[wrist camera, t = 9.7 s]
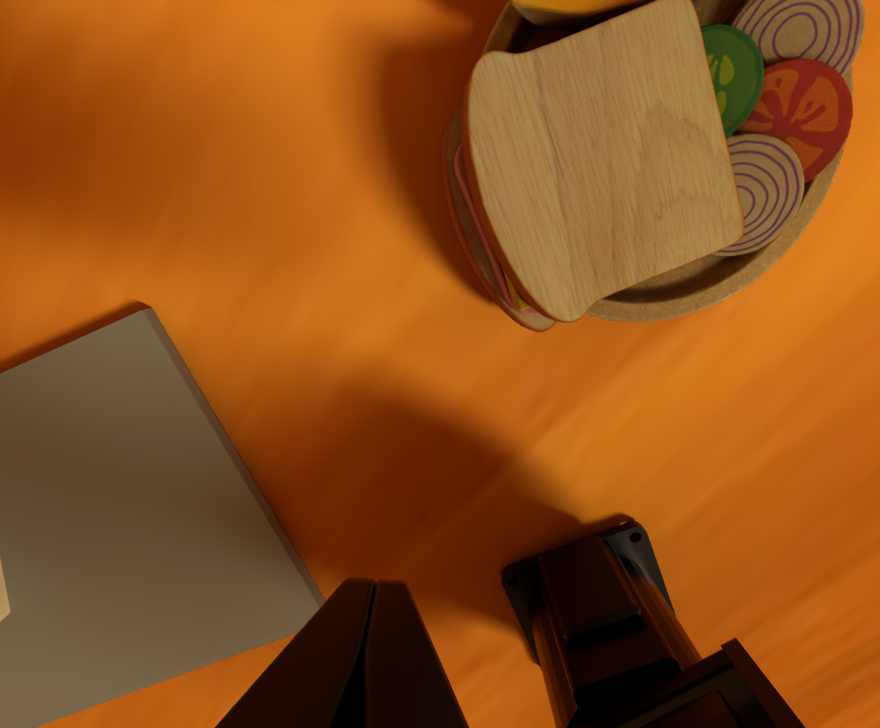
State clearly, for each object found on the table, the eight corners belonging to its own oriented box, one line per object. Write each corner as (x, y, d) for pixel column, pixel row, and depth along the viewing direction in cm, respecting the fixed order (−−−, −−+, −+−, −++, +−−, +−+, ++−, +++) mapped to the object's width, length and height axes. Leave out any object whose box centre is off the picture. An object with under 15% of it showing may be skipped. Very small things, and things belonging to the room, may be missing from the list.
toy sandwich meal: (829, 271, 18) (966, 284, 13) (481, 356, 18) (496, 397, 14) (818, -129, 14) (997, -297, 10) (395, -6, 15) (378, -110, 11)
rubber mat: (331, 611, 21) (328, 621, 21) (-18, 737, 23) (-29, 750, 22) (151, 307, 17) (142, 309, 17) (-249, 486, 19) (-270, 494, 19)
